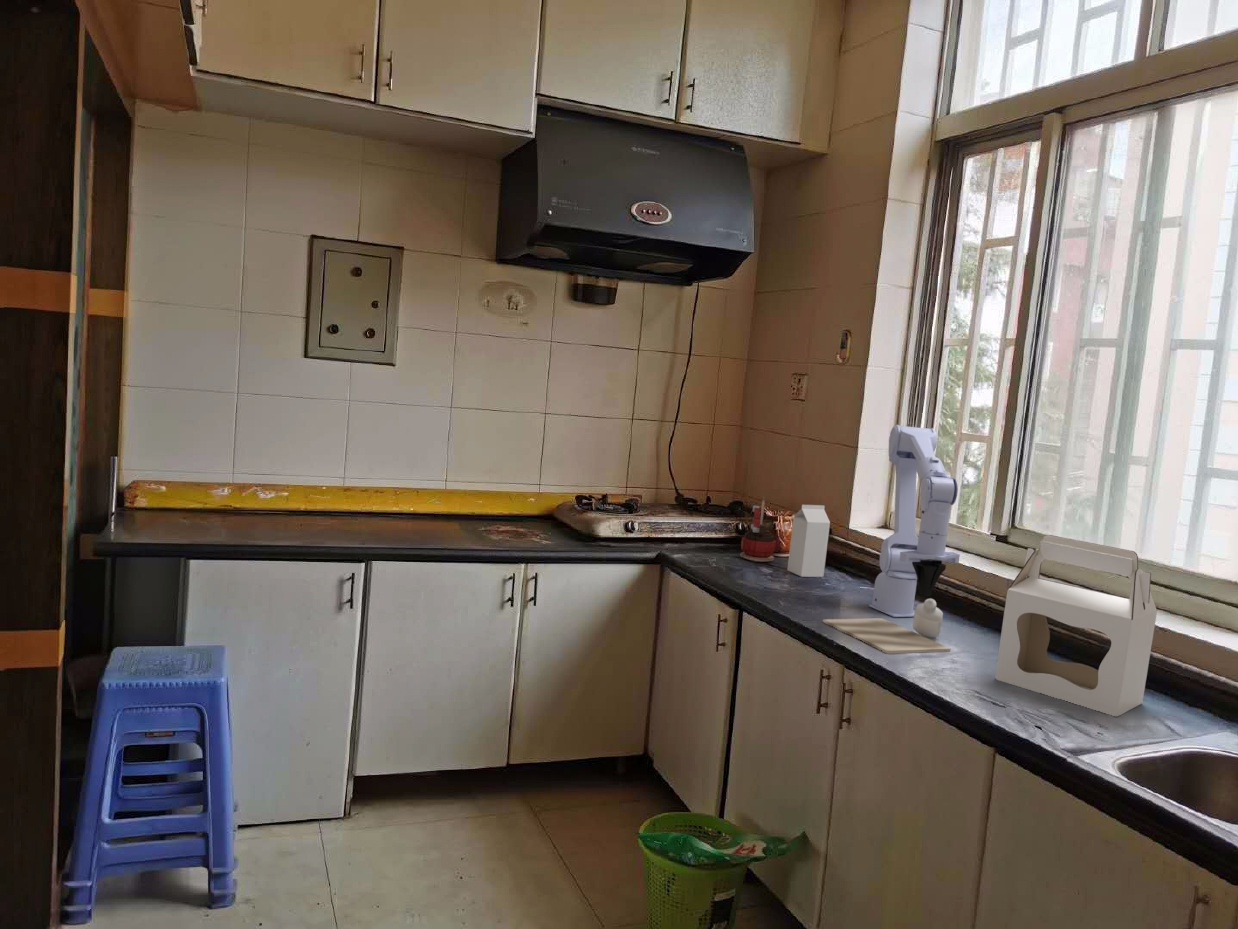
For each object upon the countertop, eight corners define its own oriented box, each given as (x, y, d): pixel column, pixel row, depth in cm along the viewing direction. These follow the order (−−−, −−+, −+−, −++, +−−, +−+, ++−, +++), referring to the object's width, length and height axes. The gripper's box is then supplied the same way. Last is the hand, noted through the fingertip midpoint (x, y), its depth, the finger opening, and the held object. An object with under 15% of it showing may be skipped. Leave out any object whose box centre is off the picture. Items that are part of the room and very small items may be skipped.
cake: (775, 565, 268) (783, 502, 267) (742, 562, 269) (749, 498, 267) (770, 557, 279) (777, 496, 277) (738, 554, 279) (745, 493, 277)
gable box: (992, 679, 180) (1013, 532, 177) (1022, 668, 190) (1042, 529, 187) (1118, 718, 165) (1143, 558, 162) (1143, 704, 174) (1168, 553, 171)
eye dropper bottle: (927, 644, 205) (932, 614, 196) (909, 625, 208) (913, 595, 199) (943, 634, 206) (948, 603, 197) (925, 615, 209) (929, 585, 200)
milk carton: (823, 577, 258) (832, 507, 256) (800, 577, 256) (809, 507, 254) (809, 571, 265) (817, 503, 263) (786, 570, 262) (795, 502, 260)
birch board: (822, 622, 210) (823, 619, 210) (881, 620, 217) (882, 618, 217) (887, 653, 190) (887, 651, 190) (950, 651, 197) (950, 648, 197)
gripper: (918, 536, 198) (910, 600, 200) (972, 537, 204) (964, 599, 205) (896, 529, 205) (888, 591, 206) (949, 530, 210) (941, 591, 212)
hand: (924, 595), depth 206 cm, fingers closed
